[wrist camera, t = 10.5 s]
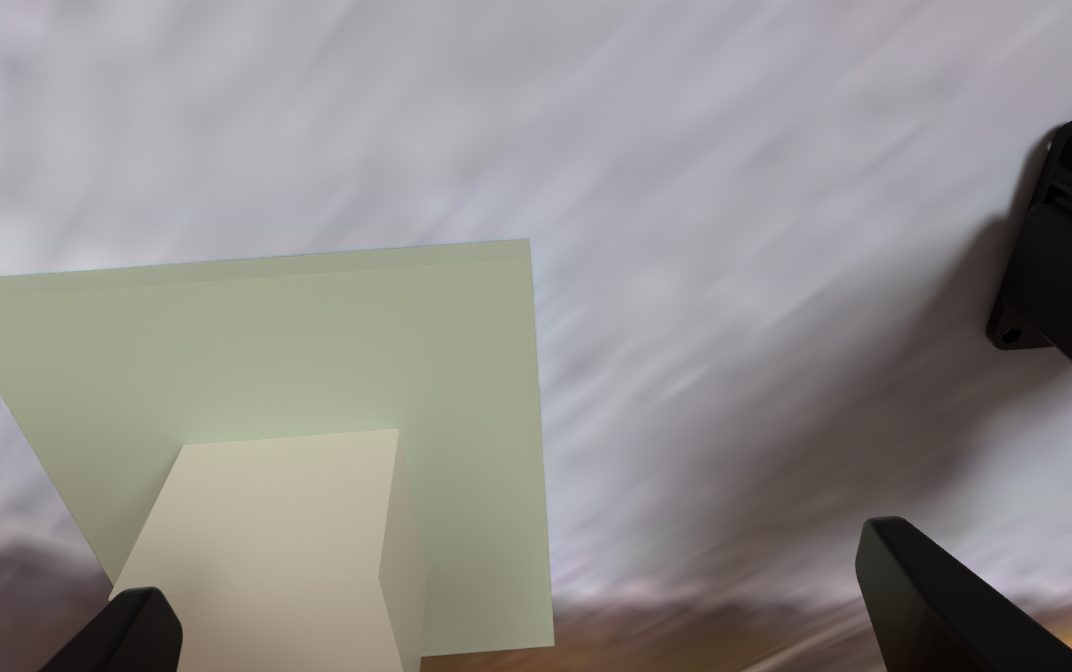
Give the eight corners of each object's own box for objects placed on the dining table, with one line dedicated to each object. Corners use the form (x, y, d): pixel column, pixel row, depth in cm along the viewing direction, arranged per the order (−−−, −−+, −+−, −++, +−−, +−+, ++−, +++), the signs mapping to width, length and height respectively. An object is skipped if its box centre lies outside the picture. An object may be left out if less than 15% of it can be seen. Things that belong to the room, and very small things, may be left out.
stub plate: (528, 239, 19) (536, 313, 16) (552, 621, 28) (560, 713, 25) (-31, 279, 18) (-127, 362, 16) (177, 652, 27) (141, 748, 25)
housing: (399, 428, 21) (378, 577, 17) (427, 567, 24) (416, 719, 20) (183, 444, 21) (108, 598, 16) (242, 581, 24) (192, 738, 20)
